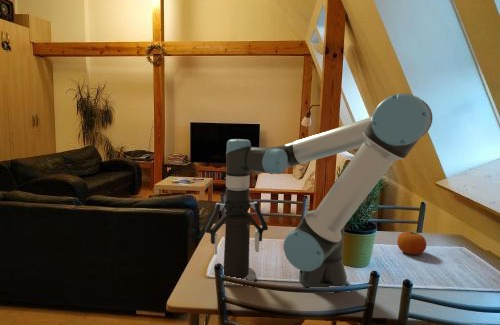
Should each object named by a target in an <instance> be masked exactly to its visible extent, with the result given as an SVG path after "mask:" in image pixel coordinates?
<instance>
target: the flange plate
mask: <svg viewBox="0 0 500 325" xmlns="http://www.w3.org/2000/svg"><path fill="white" fill-rule="evenodd" d="M256 274H257V273H256V271H255V270H254V269H253V268H251V267H249V274H248V275H247V276H246V277H244V278H241V279H246V280H252V281H254V282H255V281H256V279H257V278H256ZM225 284H226V286H225V287H230V286H233V287H232V288H238V287H239V288H240V286H241V285H237V284H232V283H227V282H226V283H225Z"/></svg>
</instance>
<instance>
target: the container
mask: <svg viewBox="0 0 500 325" xmlns="http://www.w3.org/2000/svg"><path fill="white" fill-rule="evenodd" d="M250 231H251V218H250V217H246V216H245V215H244V216H230V217H229V218H226V221H225V231H224V250H223V251H224V252H223V254H224V255H223V267H222V268H223V269H224V275H225V276H230V277H236V278H244V277H246V276H247V275H248V274H249V268H250V233H251V232H250Z"/></svg>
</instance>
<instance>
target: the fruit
mask: <svg viewBox="0 0 500 325" xmlns="http://www.w3.org/2000/svg"><path fill="white" fill-rule="evenodd" d="M396 244H397V247H398V249H399V250H400V252H403V253H405V254H408V255H414V256H415V255H419V254H422V253H424V252H425V251H426V248H427V240H426V239H425V237H424V236H423V235H422V234H420V233H418V232H415V231H404V232H402V233H400V234H399V235H398V237H397V243H396Z"/></svg>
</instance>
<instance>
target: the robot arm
mask: <svg viewBox="0 0 500 325" xmlns="http://www.w3.org/2000/svg"><path fill="white" fill-rule="evenodd" d="M432 124H433V112H432V109H431V108H430V106H429V104H428V103H427V102H426V101H424V100H423V99H421V98H419V96H415V95H413V94H412V93H411V94H410V93H396V94H393V95H390V96H388V97H386V98H384V99H383V100H382V101H380V103H379V104H378V105H377V106H376V108H375V109H374V112H373V114H372V115H371V116H370V117H368V118H364V119H360V120H358V121H354V122H351V123H347V124H345V125H342V126H339V127H336V128H334V129H330V130H326V131H323V132H321V133H320V132H319V133H318V134H313V135H311V136H307V137H305V138H302V139H301V138H300V139H298V140H295V141H291V142H289V143H286V144H282V145H278V146H271V147H257V146H252V145H251V144H252V143H251V141H250V140H249V139H243V138H242V139H241V138H238V139H237V138H234V139H233V138H232V139H231V138H230V139H229V140H227V142H226V149H225V150H226V152H225V159H226V161H225V163H226V164H225V165H226V166H225V168H226V169H225V170H226V172H225V187H226V188H225V202H224V203H219V202H218V201H217V202H216V203H215V206H214V210H213V212H212V214H211V216H210V218H209V221H207V224H206V225H205V227H204V230H205V233H206V234H210V244H211V245H213V253H214V255H215V256H216V255H217V256H218V233H217V232H218V231H219V230H220V229H221V228H222V227H223V225H224V224H226V222H225V221H226V218H229V217H230V216H244V215H245V216H246V217H250V218H251V222H250V224H252V225H253V226H254V228H256V230H254V250H255V252H256V253H260V252H259V251H260V242H262V241H263V233H264V231H268V229H269V227H268V225H267V223H266V221H265V218H264V217H263V214H262V213H261V211H260V210H261V209H260V204H259V203H258V202H257V201H256V200H255V201H254V202H250V189H249V188H250V180H251V179H250V178H251V176H250V175H251V174H250V173H251V172H256V173H261V174H263V173H264V174H269V175H281V174H283V173H284V172H285V171H286V169H288V168H292V167H295V166H298V165H301V164H305V163H308V162H312V161H316V160H319V159H323V158H327V157H330V156H333V155H337V154H342V153H344V152H345V153H346V152H348V151H353V150H356V149H358V150H357V151H356V152H355V154H354V155H353V157H352V158H351V160H350V161H349V163H348V164H346V167H344V169H343V171H342V172H341V174H340V175H339V177H337V179H336V181H335V182H334V183H333V184H332V186H331V188H330V189H329V191H328V192H327V193H326V195H325V196H324V198H323V199H322V200H321V202H320V203H319V205H318V206H317V207H316V209H314V210H309V211H308V212H307V213H305V215H304V216H303V218H302V219H301V221H300V222H299V224H298V225H297V226H296V228H294V230H291V231H290V232H289V233H288V234H287V236H285V239H284V241H283V251H284V256H285V258H286V260H287V261H288V262H289V263H290V265H291V266H293V267H295V269H297V270H299V276H298V277H299V278H298V280H299V282H300V283H301V285H302V286H304V287H305V288H307V287H329V286H342V285H346V286H347V284H348V283H347V281H348V278H347V274H346V269H345V265H344V261H343V255H344V254H343V253H344V251H343V250H344V239H345V237H344V236H345V227H346V225H347V223H348V222H349V221H350V219H351V218H352V217H353V215H354V214H355V213H356V211H357V210H358V209H359V207H360V206H361V205H362V204H363V203H364V201H365V199H367V197H368V196H369V194H370V193H371V192H372V190H374V188H375V186H376V185H377V184H378V183H379V182H380V180H381V179H382V178H383V176H384V175H385V173H387V171H388V169H389V168H390V167H392V164H393V163H394V162H396V161H401V160H405V158H406V157H407V156H408V155H409V153H410V152H411V150H413V148H414V147H415V146H416V144H417V143H418V141H419V140H420V139H421V138H423V137H424V136H426V134H427V133H428V132H429V130H430V128H431V126H432ZM223 208H224V209H225V211H224V213H223V215H222V216H221V217H220V218H219V219H218V220H217V218H218V216H219V215H220V212H221V211H222V210H223ZM250 208H252V210H254V211H255V214H256V216H257V218H258V220H259V223H260V224H261V225H259V224H258V223H257V221H256V220H255V219H254V217H252V216H251V214H250V213H249V212H248V211H249V210H250ZM216 220H217V222H216ZM215 222H216V223H215Z"/></svg>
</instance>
